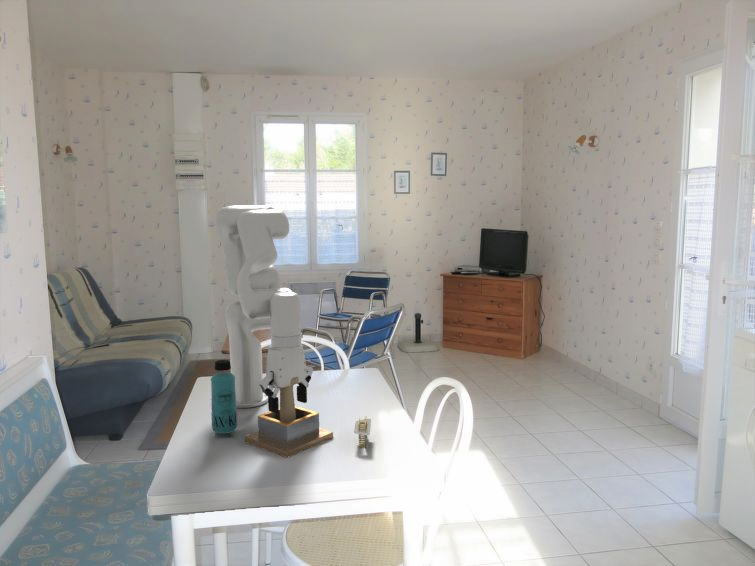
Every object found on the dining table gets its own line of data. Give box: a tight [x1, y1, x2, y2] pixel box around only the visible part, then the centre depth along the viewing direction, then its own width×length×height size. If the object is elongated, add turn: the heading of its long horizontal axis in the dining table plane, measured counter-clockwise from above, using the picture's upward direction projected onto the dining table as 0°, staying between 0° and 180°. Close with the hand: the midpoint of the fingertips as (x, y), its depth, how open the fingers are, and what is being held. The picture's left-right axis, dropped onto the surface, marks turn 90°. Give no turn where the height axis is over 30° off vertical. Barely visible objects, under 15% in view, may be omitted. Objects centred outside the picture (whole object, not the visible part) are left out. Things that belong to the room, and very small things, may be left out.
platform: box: [353, 415, 372, 450], centre depth 153 cm, size 12×18×7 cm, turn 179°
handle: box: [279, 377, 299, 423], centre depth 155 cm, size 5×6×15 cm
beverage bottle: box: [210, 359, 238, 434], centre depth 158 cm, size 6×7×20 cm
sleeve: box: [243, 405, 334, 458], centre depth 155 cm, size 16×16×7 cm
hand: (288, 406), depth 155 cm, fingers open, 9 cm apart
